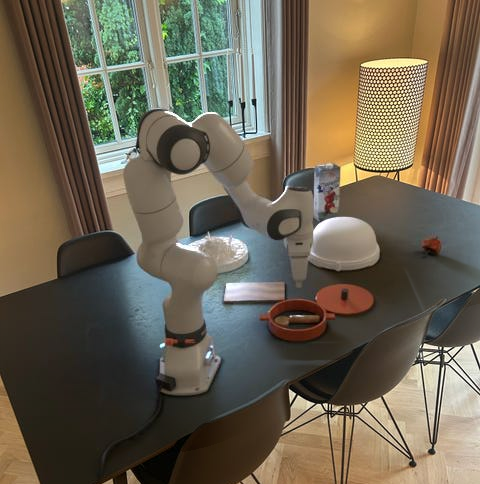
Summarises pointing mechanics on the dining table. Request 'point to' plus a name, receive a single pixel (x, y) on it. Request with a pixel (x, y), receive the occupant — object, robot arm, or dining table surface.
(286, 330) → the pan
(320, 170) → the juice carton
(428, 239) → the pomegranate
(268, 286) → the board
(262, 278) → the dining table surface
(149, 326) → the dining table surface
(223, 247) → the cake
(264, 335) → the dining table surface
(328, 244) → the dome cover
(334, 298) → the lid
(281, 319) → the spoon
